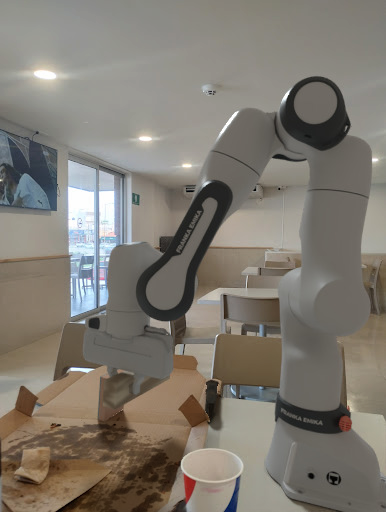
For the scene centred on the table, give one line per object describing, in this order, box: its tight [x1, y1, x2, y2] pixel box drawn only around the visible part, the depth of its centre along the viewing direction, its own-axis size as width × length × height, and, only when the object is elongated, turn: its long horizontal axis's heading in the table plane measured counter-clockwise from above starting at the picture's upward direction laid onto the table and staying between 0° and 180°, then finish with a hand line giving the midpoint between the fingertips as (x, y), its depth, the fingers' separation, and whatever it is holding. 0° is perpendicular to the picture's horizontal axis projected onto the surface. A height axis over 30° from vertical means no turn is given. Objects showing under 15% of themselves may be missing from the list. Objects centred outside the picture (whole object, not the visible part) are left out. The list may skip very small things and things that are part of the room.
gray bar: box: [103, 371, 171, 409], centre depth 79 cm, size 3×20×5 cm, turn 153°
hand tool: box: [204, 379, 220, 423], centre depth 97 cm, size 19×4×5 cm, turn 172°
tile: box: [97, 369, 125, 423], centre depth 88 cm, size 2×7×10 cm, turn 153°
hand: (125, 390), depth 75 cm, fingers closed on gray bar, 3 cm apart
